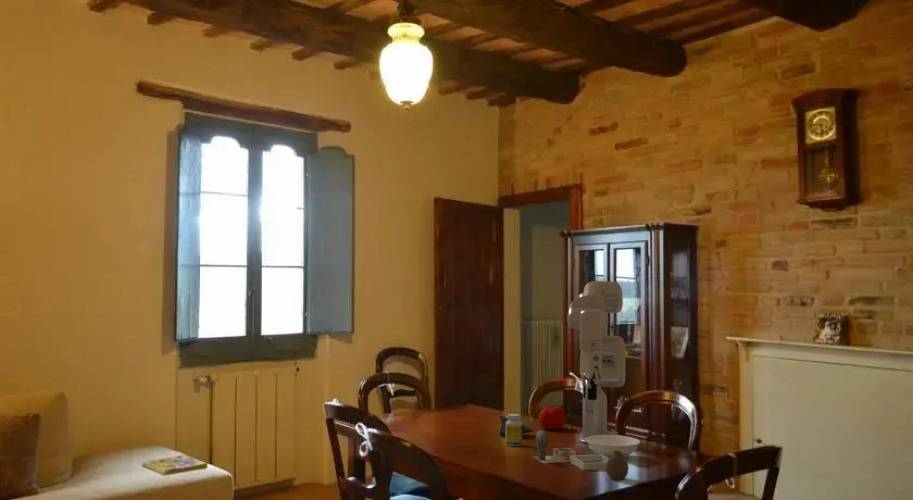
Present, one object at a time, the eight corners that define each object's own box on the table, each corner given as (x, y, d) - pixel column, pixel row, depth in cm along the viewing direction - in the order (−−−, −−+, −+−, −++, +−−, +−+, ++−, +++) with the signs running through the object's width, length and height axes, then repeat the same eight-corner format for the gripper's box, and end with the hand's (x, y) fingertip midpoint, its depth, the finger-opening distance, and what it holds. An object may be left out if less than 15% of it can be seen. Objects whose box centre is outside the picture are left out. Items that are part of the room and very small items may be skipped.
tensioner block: (569, 457, 283) (569, 427, 283) (580, 464, 273) (580, 432, 273) (532, 459, 279) (533, 428, 280) (542, 465, 270) (542, 433, 270)
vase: (604, 480, 252) (605, 452, 252) (608, 475, 258) (608, 448, 258) (626, 482, 249) (626, 454, 249) (629, 477, 256) (629, 450, 256)
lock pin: (593, 411, 272) (593, 372, 273) (598, 413, 267) (598, 374, 268) (580, 411, 271) (581, 373, 272) (586, 413, 266) (586, 374, 267)
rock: (493, 433, 327) (492, 432, 318) (500, 414, 329) (499, 413, 319) (528, 447, 325) (528, 447, 315) (535, 428, 326) (535, 427, 317)
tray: (601, 463, 275) (601, 454, 275) (616, 471, 263) (616, 462, 263) (569, 464, 272) (569, 455, 272) (583, 472, 260) (583, 463, 260)
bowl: (629, 466, 271) (629, 447, 271) (576, 458, 281) (576, 441, 282) (647, 456, 288) (647, 438, 288) (597, 449, 298) (597, 432, 298)
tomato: (571, 429, 337) (571, 405, 338) (549, 432, 330) (549, 408, 331) (554, 425, 347) (554, 402, 347) (532, 428, 339) (532, 404, 340)
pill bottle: (520, 447, 300) (521, 416, 300) (504, 446, 301) (504, 415, 302) (522, 443, 306) (523, 413, 307) (506, 442, 308) (506, 413, 308)
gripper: (610, 347, 263) (609, 402, 262) (591, 343, 279) (590, 395, 278) (589, 347, 261) (589, 402, 261) (571, 343, 277) (571, 395, 277)
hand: (589, 398), depth 269 cm, fingers closed on lock pin, 3 cm apart
